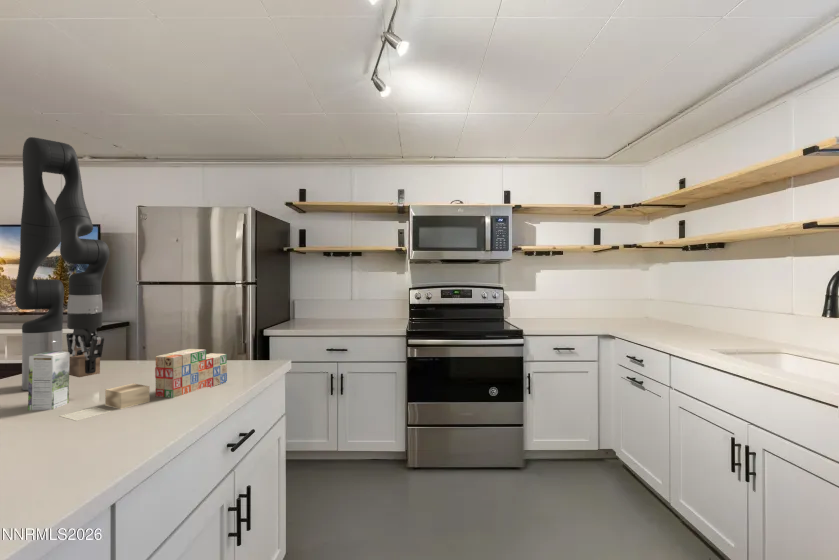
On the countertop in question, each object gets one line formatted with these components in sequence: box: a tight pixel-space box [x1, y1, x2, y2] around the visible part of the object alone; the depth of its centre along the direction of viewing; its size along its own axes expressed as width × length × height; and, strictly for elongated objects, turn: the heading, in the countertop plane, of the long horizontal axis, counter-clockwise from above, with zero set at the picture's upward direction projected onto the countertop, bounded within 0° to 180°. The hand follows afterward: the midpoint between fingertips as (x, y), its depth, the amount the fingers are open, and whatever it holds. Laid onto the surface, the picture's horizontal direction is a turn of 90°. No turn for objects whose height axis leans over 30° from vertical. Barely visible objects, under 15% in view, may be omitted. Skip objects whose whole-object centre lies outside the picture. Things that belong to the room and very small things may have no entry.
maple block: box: [104, 382, 150, 410], centre depth 109 cm, size 7×7×4 cm
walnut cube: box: [69, 354, 101, 378], centre depth 114 cm, size 5×5×5 cm
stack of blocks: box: [154, 348, 228, 399], centre depth 125 cm, size 21×6×12 cm, turn 166°
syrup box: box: [27, 350, 71, 411], centre depth 106 cm, size 6×6×14 cm
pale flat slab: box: [60, 400, 151, 422], centre depth 106 cm, size 15×17×1 cm
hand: (84, 371), depth 114 cm, fingers closed on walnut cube, 5 cm apart
